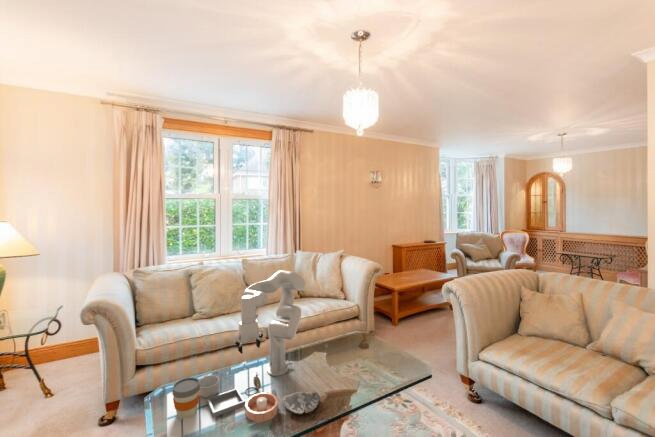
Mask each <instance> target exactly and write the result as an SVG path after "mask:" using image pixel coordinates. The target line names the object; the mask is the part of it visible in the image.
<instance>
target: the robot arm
mask: <svg viewBox="0 0 655 437" xmlns="http://www.w3.org/2000/svg"><path fill="white" fill-rule="evenodd" d="M305 287H306V280H305V278H304V277H303V276H302V275H300V274H298V273H297V272H296V271H292V270H285V269H284V270H282V269H281V270H277V271H276V272H275V273H274V274H272V275H271V276H270V277H269V278H267V279H266V280H262V281H257V282H255V283H253V284H251V285H250V286H248V287H247V288H246V289H245V290H244V291H243V292H242V294H241V298H240V320H241V321H240V322H239V325H238V334H237V335H236V336H235V337H234V338H232V341H233V342H234V344H235V345H236V346H237V350H238V352H239V354H241V355H242V354H243V344H244V343H247V342H249V341H252V340H255V347H257V348H258V349H259V348H260V347H261V341H262V338H263V337H264V334H265V330H264V329H261V328H259V323H258V320H257V318H259V315H258V314H256V313H257V312H256V308H259V307H262V306H265V304H267V302H268V299H269V296H268V294H272V293H275V292H277V291H278V290H280V289H281V297H280V300H279V303H278V306H277V309H276V312H275V316H276V318H278V319H279V320H276V319H274V320H271V321H270V322H269V323H268V326H267V332H268V339H269V366H268V367H267V369H266V370H267V371H266V372H267V374H269V376H273V377H280V376H283V375H285V374H287V372H288V369H289V368H288V366H291V365H293V361H292V360H290V361H289V360H286V341H285V340H290V341H291V340H293V339H294V338H295V337H296V333H297V331H298V328H299V324H300V321H301V318H302V309H301V307H300V306H298V305H294V302H295V294H294V292H293V291H298V292H299V291H303V290H304V289H305ZM283 320H284V321H283ZM287 321H288V322H287Z"/></svg>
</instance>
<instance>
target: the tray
mask: <svg viewBox="0 0 655 437" xmlns="http://www.w3.org/2000/svg"><path fill="white" fill-rule="evenodd" d="M206 404H207V406H208V409H209V411H210V413H211V416H212V418H216V417H218V416H222V415H223V414H226V413H230V412H233V411H235V410H238V409H240V408H243V407H245V404H246V400H245V398H244V397H243V395H242V394H241V392H240V390H239V388H237V387H235V388H233V389H230V390H227V391H224V392H221V393H217V394H216V395H214V396H212V397H209V398H206Z"/></svg>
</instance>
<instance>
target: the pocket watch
mask: <svg viewBox="0 0 655 437" xmlns="http://www.w3.org/2000/svg"><path fill="white" fill-rule="evenodd" d="M258 376H259V374H258V372H255V376H254V377H253V385H254V386H251V387H248V388H246V389H245V391H244V392H245V395H247V396H252V395H255V394H257V393H258V390H260V388H261V387H262V385H261V380H260V378H259V377H258ZM249 389H255V390H256V392H255V393H251V394H249V393H247V391H248V390H249Z"/></svg>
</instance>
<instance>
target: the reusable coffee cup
mask: <svg viewBox="0 0 655 437" xmlns="http://www.w3.org/2000/svg"><path fill="white" fill-rule="evenodd" d="M199 381H200V380H199V379H198V378H196V377H185V378H182V379H180V380H178V381H176V382H175V383H174V384H173V386H172V392H171V394H172V396H173V404H174V406H173V407H174V409H175V411H176V416H177V418H178V419H179V420H185V419H188V418H191V417H193V416H194V415H195V414H196V413H197V411H198V404H199V401H200V392H199V389H200V383H199Z"/></svg>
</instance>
